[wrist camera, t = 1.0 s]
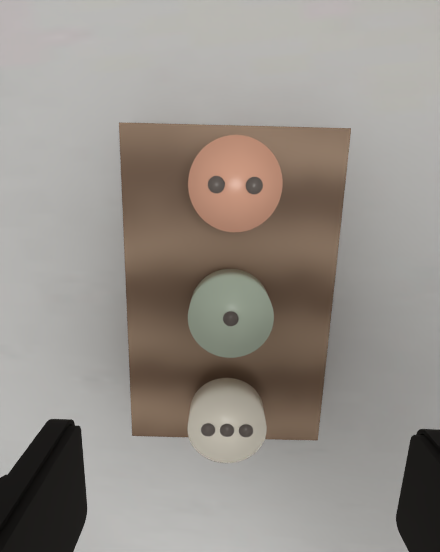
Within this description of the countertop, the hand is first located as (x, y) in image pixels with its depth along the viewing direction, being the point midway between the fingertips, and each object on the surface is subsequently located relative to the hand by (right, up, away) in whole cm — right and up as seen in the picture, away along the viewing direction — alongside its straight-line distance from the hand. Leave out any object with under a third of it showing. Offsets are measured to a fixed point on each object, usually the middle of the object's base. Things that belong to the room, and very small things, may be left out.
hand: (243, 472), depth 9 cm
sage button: (0, +3, +13) cm, 14 cm away
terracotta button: (0, +10, +11) cm, 15 cm away
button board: (0, +4, +18) cm, 18 cm away
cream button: (0, -4, +15) cm, 16 cm away
